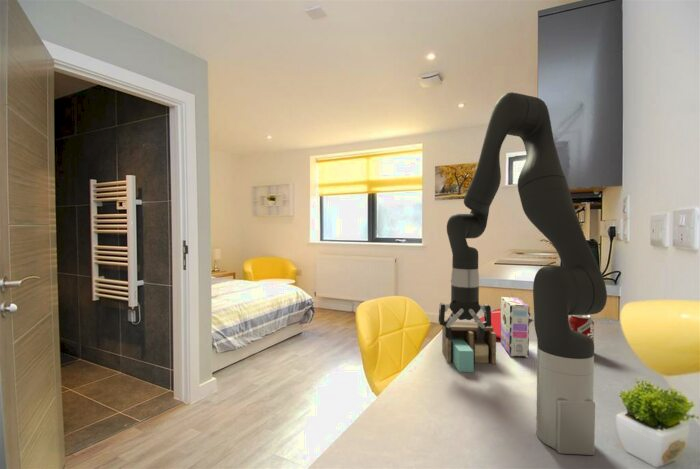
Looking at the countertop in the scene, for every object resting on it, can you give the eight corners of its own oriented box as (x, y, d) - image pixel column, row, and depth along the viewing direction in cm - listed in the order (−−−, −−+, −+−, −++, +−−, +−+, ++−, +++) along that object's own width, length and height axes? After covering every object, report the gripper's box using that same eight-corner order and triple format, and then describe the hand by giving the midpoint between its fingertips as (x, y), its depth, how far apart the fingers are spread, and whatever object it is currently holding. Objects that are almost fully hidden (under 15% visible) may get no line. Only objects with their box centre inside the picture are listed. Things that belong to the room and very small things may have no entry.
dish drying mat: (459, 335, 135) (459, 325, 135) (494, 314, 166) (494, 306, 166) (502, 344, 125) (503, 333, 125) (531, 320, 156) (531, 311, 156)
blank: (473, 372, 100) (473, 351, 99) (458, 372, 100) (459, 350, 100) (461, 356, 112) (462, 337, 111) (449, 356, 112) (449, 337, 112)
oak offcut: (488, 362, 106) (488, 346, 106) (474, 362, 107) (474, 345, 107) (482, 355, 112) (482, 339, 112) (469, 355, 113) (469, 339, 113)
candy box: (529, 358, 110) (530, 305, 109) (509, 357, 111) (509, 304, 110) (517, 344, 123) (518, 296, 123) (499, 342, 124) (500, 296, 124)
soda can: (569, 353, 114) (570, 316, 113) (567, 347, 120) (568, 311, 119) (594, 357, 111) (595, 318, 110) (591, 350, 117) (592, 314, 116)
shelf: (495, 364, 105) (496, 330, 105) (447, 362, 106) (447, 329, 106) (486, 353, 114) (487, 322, 114) (442, 352, 115) (442, 321, 115)
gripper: (441, 285, 98) (441, 343, 99) (494, 286, 97) (493, 345, 97) (437, 281, 106) (436, 335, 106) (486, 282, 104) (486, 336, 105)
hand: (464, 340), depth 102 cm, fingers open, 8 cm apart
